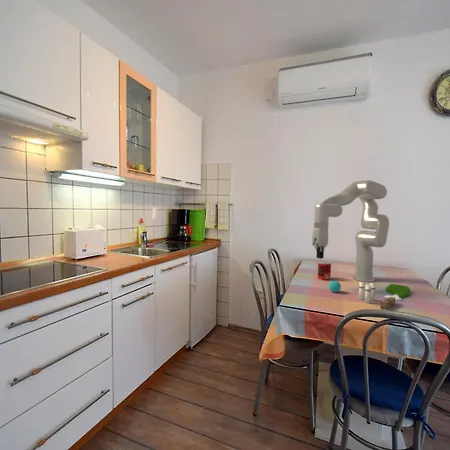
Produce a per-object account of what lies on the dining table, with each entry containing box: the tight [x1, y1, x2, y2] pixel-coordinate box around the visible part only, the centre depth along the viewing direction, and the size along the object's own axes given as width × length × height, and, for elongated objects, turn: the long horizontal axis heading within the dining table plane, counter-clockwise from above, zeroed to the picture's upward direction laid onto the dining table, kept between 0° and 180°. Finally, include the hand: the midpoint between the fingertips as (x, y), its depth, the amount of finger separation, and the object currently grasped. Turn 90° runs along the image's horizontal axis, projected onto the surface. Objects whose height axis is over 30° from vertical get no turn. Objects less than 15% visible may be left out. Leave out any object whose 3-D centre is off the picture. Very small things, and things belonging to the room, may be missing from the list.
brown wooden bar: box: [380, 297, 396, 310], centre depth 120 cm, size 12×2×3 cm, turn 129°
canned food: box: [317, 260, 332, 281], centre depth 167 cm, size 8×8×11 cm
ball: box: [328, 280, 342, 293], centre depth 141 cm, size 6×6×6 cm
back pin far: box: [369, 282, 376, 302], centre depth 128 cm, size 2×2×8 cm
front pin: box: [358, 281, 366, 301], centre depth 130 cm, size 2×2×8 cm
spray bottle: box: [383, 283, 411, 302], centre depth 139 cm, size 3×11×24 cm
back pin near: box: [364, 283, 371, 304], centre depth 125 cm, size 2×2×8 cm
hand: (319, 257), depth 147 cm, fingers closed
